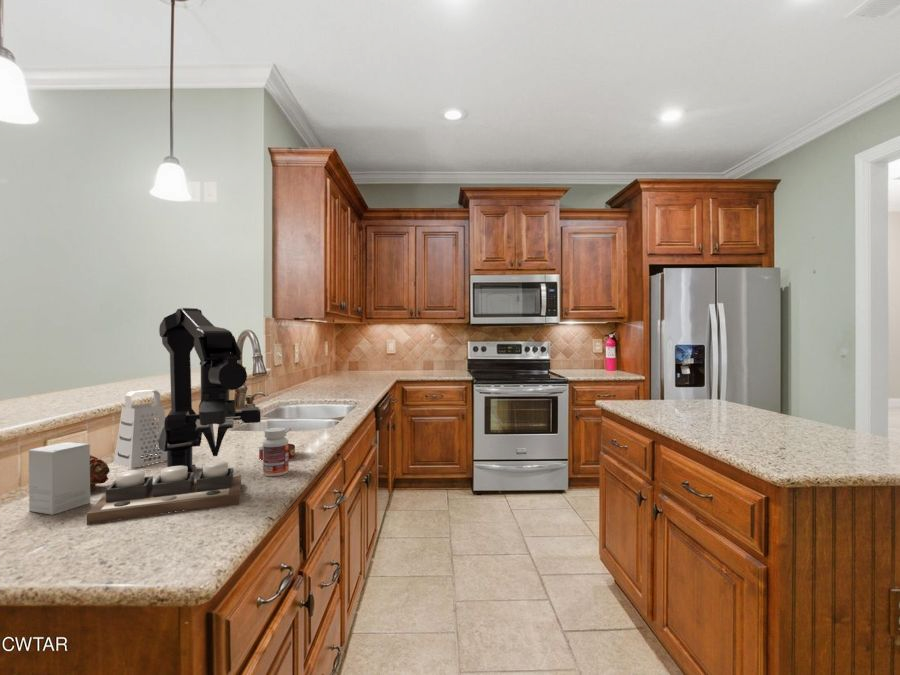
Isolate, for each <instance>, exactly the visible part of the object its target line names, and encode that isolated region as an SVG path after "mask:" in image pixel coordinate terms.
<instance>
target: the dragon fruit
mask: <svg viewBox="0 0 900 675" xmlns="http://www.w3.org/2000/svg"><path fill="white" fill-rule="evenodd" d="M110 471H111V470H110V467H109V466H108V464H107V463H106V461H104V460H102V459H99V458H98V457H96V456H94V455H91V454H90V491H92V490H95V487H96V485H97V484H99V485H101V484H105V483H106V482H107V481H108V480H109V477H108V475H109V473H110Z"/></svg>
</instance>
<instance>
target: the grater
mask: <svg viewBox="0 0 900 675" xmlns="http://www.w3.org/2000/svg"><path fill="white" fill-rule="evenodd" d="M143 392H152V393H153V403H143V404H135V405H132V396H134V394H135V393H143ZM124 404H125V405H124V406H121V413H120V417H119V418H120V419H119V424H118V425H119V426H118V432H117V438H116V443H115V444H116V445H115V452H114V456H113V457H114V458H113V464H114V465H117V466H120V465H121V466H120V467H123V466H125V467H124V468H126V467H128V468H127V469H129V468H134V467H139V466H143V465H148V464H152V463H156V462H161V461H166V460H167V451H166V452H164V451H162V450H160V449H159V438H160V435H161V432H162V429H163V428H164V421H165V418H166V413H165V406H164V404H163V405H162V404H161V392H159V391H158V390H157V389H143V390H132V391H128V392H127V393H126V394H125V395H124ZM157 432H158V433H157ZM168 445H169V444H168ZM150 454H154V455H152V456H150ZM155 454H157V455H155ZM146 455H149V456H147V457H146ZM141 456H144V457H142V458H141ZM159 456H161V457H160V458H159ZM154 458H155V459H154ZM149 459H151V460H149ZM145 460H146V461H145ZM166 462H167V461H166ZM161 463H162V462H161ZM152 465H153V464H152ZM148 466H149V465H148ZM143 467H144V466H143ZM139 468H140V467H139ZM134 469H135V468H134Z"/></svg>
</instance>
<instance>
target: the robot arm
mask: <svg viewBox="0 0 900 675" xmlns="http://www.w3.org/2000/svg"><path fill="white" fill-rule="evenodd" d="M158 331H159V332H158V333H159V337H160V338H161V343H162V345H163V347H164V348H165V349H166V350H167V352H168V353H169V372H170V373H169V378H170V403H171V405H170V411H169V413H168V414H167V416H165V421H164V428H163V429H162V432H161V435H160V438H159V448H158V449H160V450H162V451H164V452H166V451H167V461H166V465H167V466H166V468H167V467H172V466H187V467H188V473H189V472H194V470H195V468H196V464H193V448H195V447H201V443H202V439H203V438H202V437H203V435H204V437H205V439H206V442H207V443H208V446H209V448H210V452H211V455H212V457H218V455H219V451H220V449H221V445H222V443H223V439H224V437H225V435H226V433H227V431H228V429H232V428H234V423H235V422H234V421H242V422H243V423H244V424H255V423H261V419H262V418H261V409H260V408H259V406H253V407H242V408H241V411H236V399H230V390H232V391H235V390H238V389H240V388H241V387H243V386H244V384H246V382H247V379H248V373H247V370H246V369H245V367H244V366H243V365H242V364H240V363H238V361H240V360H242V358H241V355H242V352H241V349H240V347H239V345H238V343H237V340H236V338H235V335H233V333H232V331H230V330H229V329H226V328H223V327H219V326H215V325H214V324H213V323H212V322H211V321H210V320H209V319H208V318H207V317H206V316H204V314H203V312H202V310H201V309H198V308H193V307H180V308H177V309H176V311H175V312H173V313H171V314H169V315H167V316H165V317H163V319H162V321H161V322H160V323H159V329H158ZM193 349H194V351H195V352H196V356H197V357H198V359H199V361H200V362H199V365H200V403H199V405H198V413H196V412H195V411H194V409H193V401H192V374H191V373H192V371H191V370H192V369H191V368H192V367H191V366H192V365H191V352H192V351H193ZM214 425H218V426H217V435H216V439H215V432H214ZM168 444H169V445H168Z"/></svg>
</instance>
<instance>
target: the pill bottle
mask: <svg viewBox="0 0 900 675" xmlns="http://www.w3.org/2000/svg"><path fill="white" fill-rule="evenodd" d="M286 432H287V428H285V427H271V428H266V429H264V438H265V439H264V440H263V441H262V442H263V443H262V446H263V461H262V473H263V475H264V476H266V477H279V476H284V475H285V474H288V472H289V459H288V444H289V439H287V437H286V436H287V433H286Z"/></svg>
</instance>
